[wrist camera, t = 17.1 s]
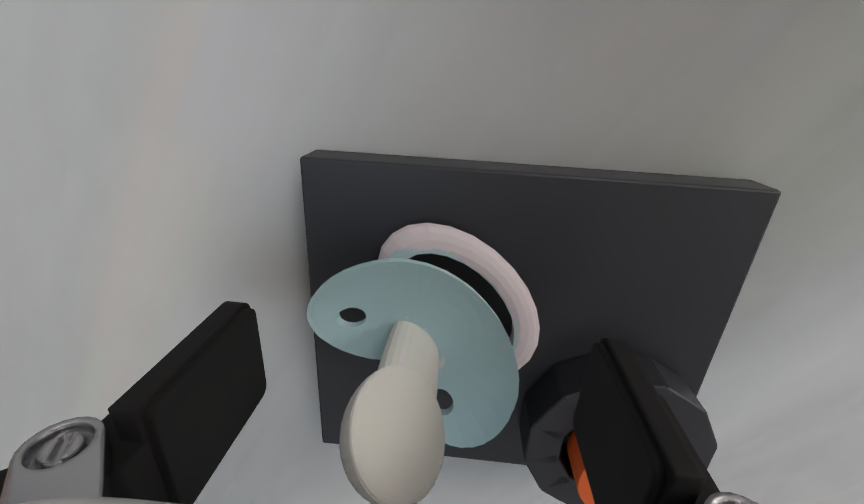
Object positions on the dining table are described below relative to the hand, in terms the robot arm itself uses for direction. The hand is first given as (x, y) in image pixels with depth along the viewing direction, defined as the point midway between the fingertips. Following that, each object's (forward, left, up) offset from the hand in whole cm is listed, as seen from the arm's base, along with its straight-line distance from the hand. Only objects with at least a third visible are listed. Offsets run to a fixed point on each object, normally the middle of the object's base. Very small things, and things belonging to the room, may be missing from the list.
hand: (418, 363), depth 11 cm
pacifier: (0, 0, -3) cm, 3 cm away
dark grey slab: (-3, +1, -4) cm, 5 cm away
